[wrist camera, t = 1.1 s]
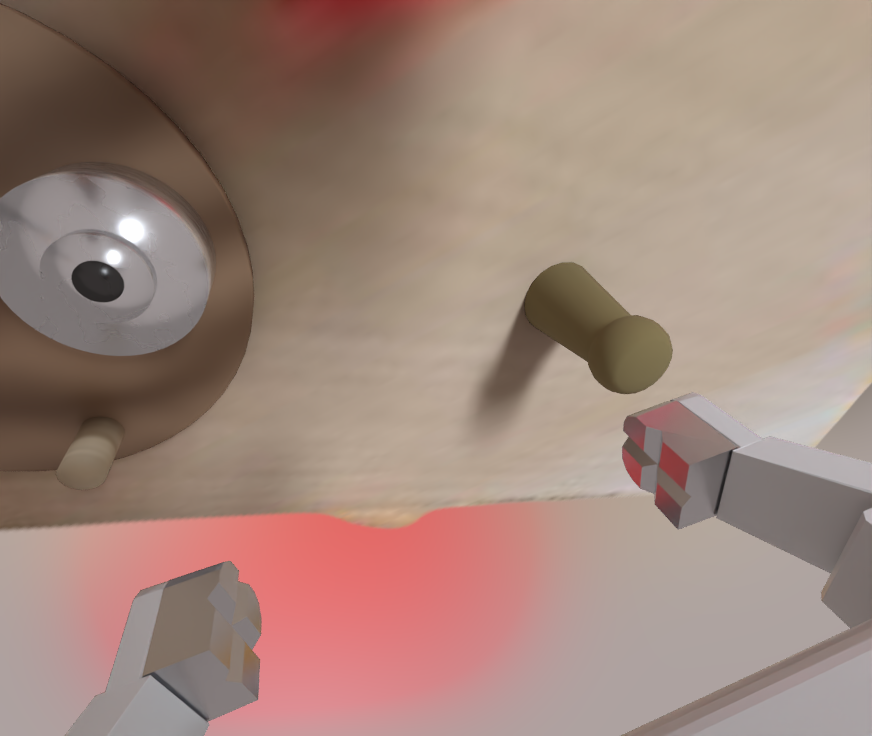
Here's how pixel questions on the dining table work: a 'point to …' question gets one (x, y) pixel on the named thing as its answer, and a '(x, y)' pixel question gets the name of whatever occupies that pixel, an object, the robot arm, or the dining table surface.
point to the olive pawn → (598, 329)
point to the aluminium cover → (104, 259)
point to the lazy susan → (79, 370)
